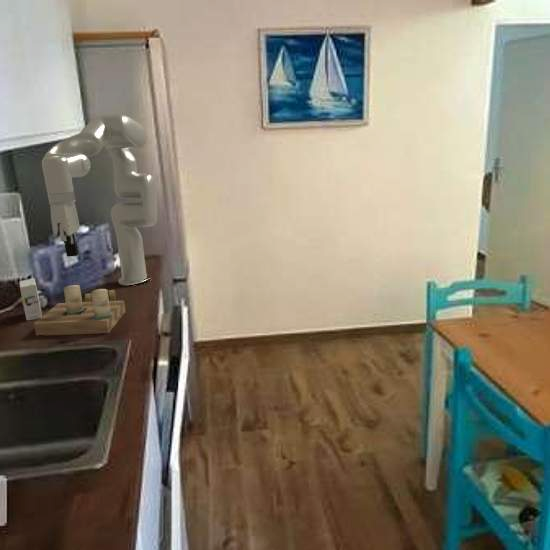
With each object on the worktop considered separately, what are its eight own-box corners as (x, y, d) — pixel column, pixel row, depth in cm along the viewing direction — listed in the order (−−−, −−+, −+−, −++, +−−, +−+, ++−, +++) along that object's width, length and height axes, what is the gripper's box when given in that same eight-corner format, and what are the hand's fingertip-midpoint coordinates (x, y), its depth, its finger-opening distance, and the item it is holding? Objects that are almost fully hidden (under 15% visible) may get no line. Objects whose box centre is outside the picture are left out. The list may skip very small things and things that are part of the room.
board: (60, 314, 173) (54, 280, 170) (125, 311, 173) (120, 277, 169) (36, 335, 156) (29, 298, 152) (108, 333, 156) (103, 295, 152)
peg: (72, 320, 167) (66, 285, 163) (87, 320, 167) (82, 284, 163) (66, 326, 162) (60, 290, 159) (82, 325, 162) (76, 289, 159)
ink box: (25, 313, 176) (18, 280, 172) (40, 310, 178) (34, 277, 175) (26, 321, 169) (19, 286, 165) (42, 318, 171) (36, 284, 167)
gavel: (83, 283, 197) (111, 279, 200) (85, 294, 198) (112, 290, 201) (84, 295, 178) (114, 291, 181) (86, 308, 179) (116, 303, 182)
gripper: (59, 194, 164) (69, 249, 170) (39, 203, 150) (51, 263, 156) (82, 192, 164) (92, 248, 170) (64, 202, 150) (76, 262, 156)
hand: (72, 255), depth 163 cm, fingers closed
